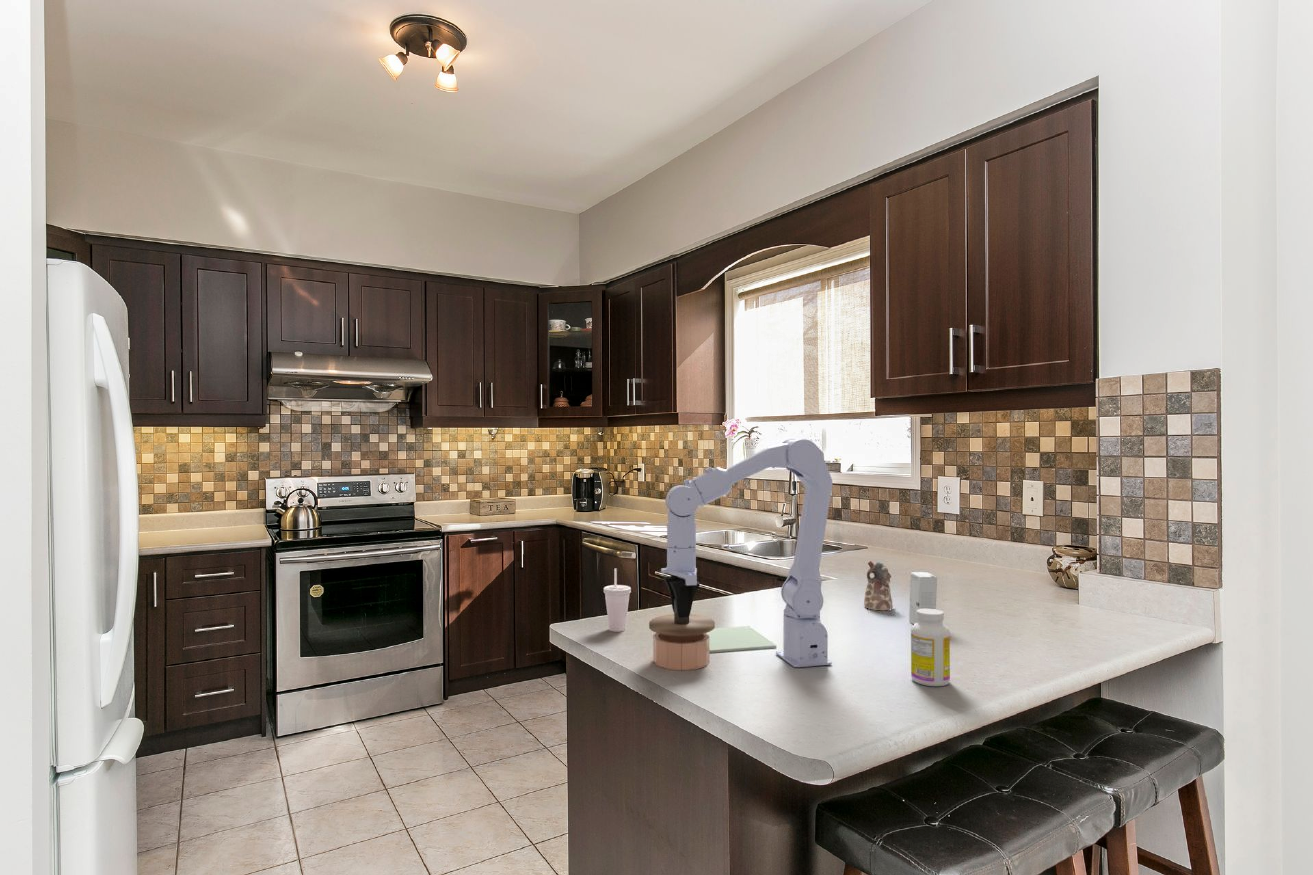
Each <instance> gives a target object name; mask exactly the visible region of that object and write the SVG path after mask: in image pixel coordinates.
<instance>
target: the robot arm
mask: <svg viewBox="0 0 1313 875" xmlns="http://www.w3.org/2000/svg"><path fill="white" fill-rule="evenodd" d="M768 468H779V469H780V468H781V469H786V470H787V471H789V472H791V473H793V475H795V476H796V477H797V479H798V480H799V482H800V483H801V484H802V485H803V486H804V488H805V490H804V496H803V502H802V508H801V515H800V520H799V524H798V525H799V526H798V527H799V528H798V533H797V538H796V546H795V551H794V552H795V553H794V558H793V563H792V565H791V566H790V568H789V570H788V574H787V577H786V580H785V581H784V582H783V583H782V586H781V589H780V595H781V599H782V601H783V602H784V603H785V607H784V609H783V634H782V635H783V644H782V646H783V647H782V648H783V650H776V651H775V654H776V655H777V656H778V657H780V658H781V659H783V660H784V661H785V662H787V663H788V664H789V665H791V666H792V667H794V668H804V667H805V668H807V667H815V666H817V667H818V666H829V665H832V664H833V662H832V661H831V660H829V659H828V652H829V651H828V646H829V644H828V636H829V635H828V631H827V629H826V627H825V626H824V624H822V621H821V611H822V609H823V606H824V597H823V596H824V595H823V594H822V584H823V583H822V582H823V581H822V577H821V572H820V566H821V559H822V551H823V546H824V540H825V533H826V527H827V522H828V521H827V520H828V514H829V508H830V502H831V496H832V490H833V479H832V477H831V476H832V475H831V473H830V471H829V469H828V466H827V462H826V460H825V454H824V452H823V451H822V450H821V449H820V448H819V446H818V445H817V444H816V443H814V442H813V441H812V440H810V439H806V438H803V439H796V438H790V439H786V440H784V441H782V442H778V443H775V444H772V445H770V446H767V447H765V448H763V449H762V450H759V451H758V452H756V453H754V454H753V455H750V456H749V457H746V458H745V459H743V460H741V461H739V462H738V463H735V464H733V465H731V466H730V467H728V468H726V469H725V468H723V467H722V468H721V467H719V466H716V467H714V468H712V467H711V466H709V467H706V468H705V469H704V471H705V472H703V473H702V474H700V475H697V476H695V477H694V478H692V479H689V478H686V479H684V480H683V482H684V484H683V485H681V484H678V485H675V486H673V487H671V488H670V489H669V491H668V492H667V494H666V497H665V499H664V501H665V505H666V507H667V509H668V510H667V512H668V513H667V523H666V529H667V530H666V564H667V565H666V567H663V568H660V572H661V573H662V574H668V575H670V576H664V577H663V581H664V583H665V585H666V587H667V590H668V592H669V596H670V602H671V608H672V611H673V613H674V599H676V607H677V613H678V617H679V618H682V617H689V616H690V614H691V612H692V607H693V603H694V599H695V596H696V593H697V591H698V590H699V588H700V585H701V584H700V582H699V581H698V577H697V576H698V575H697V572H698V568H697V566H696V565H697V564H696V563H697V561H696V560H697V527H696V525H697V524H696V512H697V510H698V507H700V506H701V507H704V506H705V505H708V504H709V503H712V502H713V501H715V500H718V499H719V498H721V497H724V496H726V495H728V494H729V493H730V492H731V490H732V488H733V485H734V484H735V483H736V484H737V482H740V481H742V480H744V479H747V478H748V477H751V476H753V475H755V474H757V473H759V472H762V471H764V470H766V469H768Z"/></svg>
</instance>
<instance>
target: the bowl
mask: <svg viewBox="0 0 1313 875" xmlns="http://www.w3.org/2000/svg"><path fill="white" fill-rule="evenodd" d="M652 639H653V640H652V646H653V648H652V654H653V655H652V661H653V663H654V662H655V663H654V664H655V666H657V665H658V666H657V667H661V668H663V667H664V668H663V669H666V670H674V671H689V670H691V669H692V670H698V669H701V668H704V667H707V665H708V664H709V663H710V653H709V635H708V634H706V633H704V634H699V635H692V636H671V635H663V634H659V633H656V632H655V633H654V635H653V637H652Z"/></svg>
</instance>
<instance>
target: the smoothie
mask: <svg viewBox="0 0 1313 875" xmlns="http://www.w3.org/2000/svg"><path fill="white" fill-rule="evenodd" d="M613 571H614V575H613V576H614V578H613V579H614V580H613V581H614V583H613V584H611V585H607V586H604V587H603V593H604V596H605V597H604V598H605V606H606V613H607V614H606V615H607V623H608V630H609V632H614V633H615V632H616V633H617V632H618V633H620V632H624V631H626V627H627V618H628V610H629V609H628V608H629V601H630V593H632V588H631V586H629V585H624V584H617V583H618V574H617V572H618V568H614V570H613Z"/></svg>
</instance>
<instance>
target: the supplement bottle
mask: <svg viewBox="0 0 1313 875" xmlns="http://www.w3.org/2000/svg"><path fill="white" fill-rule="evenodd" d="M944 614H945V613H944V611H943V610H939V609H937V608H936V609H918V610H917V611H916V617H917V619H918V622H917V623H915V624H914V625H913V624H912V626H911V627H910V662H911V663H910V671H911V672H910V673H911V674H910V676H911V679H912V681H913V682H915V683H916V684H919V685H922V686H925V687H943V686H946V685H948V684H949V683H950V681H951V680H950V679H951V678H950V677H951V676H950V675H951V667H950V666H951V660H950V659H951V658H950V657H951V652H950V650H951V649H950V645H951V643H950V641H951V640H950V638H951V633H950V630H949V629H950V628H949V627H947V625H944V623H943V622H944V619H945V615H944Z"/></svg>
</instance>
